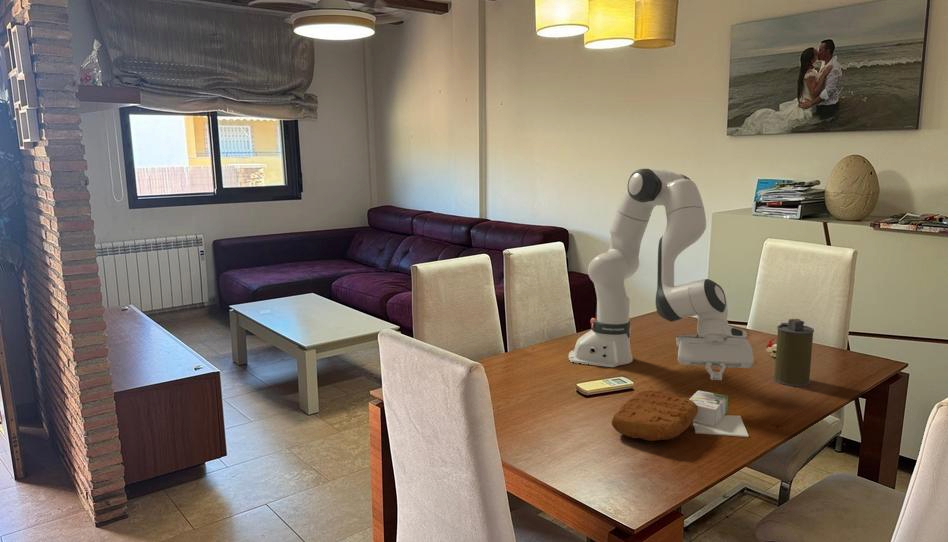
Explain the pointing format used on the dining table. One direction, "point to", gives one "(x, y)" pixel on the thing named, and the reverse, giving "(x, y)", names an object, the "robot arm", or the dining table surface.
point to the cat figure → (772, 348)
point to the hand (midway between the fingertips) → (716, 379)
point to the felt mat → (723, 427)
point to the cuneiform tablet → (655, 416)
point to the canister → (793, 353)
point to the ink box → (709, 407)
